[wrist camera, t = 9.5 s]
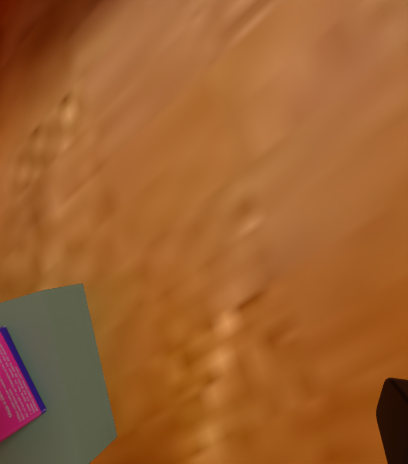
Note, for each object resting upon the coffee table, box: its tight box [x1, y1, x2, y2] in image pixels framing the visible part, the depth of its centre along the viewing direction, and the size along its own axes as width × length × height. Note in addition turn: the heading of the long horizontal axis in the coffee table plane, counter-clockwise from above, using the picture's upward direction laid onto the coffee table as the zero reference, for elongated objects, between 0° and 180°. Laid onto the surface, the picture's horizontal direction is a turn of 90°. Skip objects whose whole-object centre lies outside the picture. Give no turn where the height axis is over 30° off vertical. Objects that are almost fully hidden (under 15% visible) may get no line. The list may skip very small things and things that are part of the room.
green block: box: [0, 283, 117, 464], centre depth 23 cm, size 10×10×4 cm
